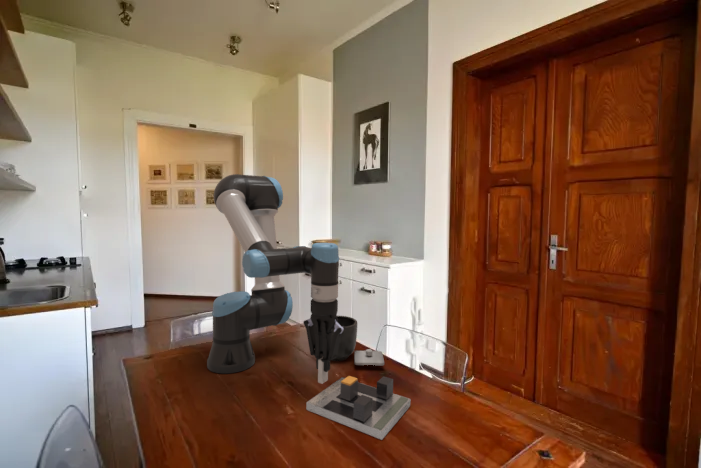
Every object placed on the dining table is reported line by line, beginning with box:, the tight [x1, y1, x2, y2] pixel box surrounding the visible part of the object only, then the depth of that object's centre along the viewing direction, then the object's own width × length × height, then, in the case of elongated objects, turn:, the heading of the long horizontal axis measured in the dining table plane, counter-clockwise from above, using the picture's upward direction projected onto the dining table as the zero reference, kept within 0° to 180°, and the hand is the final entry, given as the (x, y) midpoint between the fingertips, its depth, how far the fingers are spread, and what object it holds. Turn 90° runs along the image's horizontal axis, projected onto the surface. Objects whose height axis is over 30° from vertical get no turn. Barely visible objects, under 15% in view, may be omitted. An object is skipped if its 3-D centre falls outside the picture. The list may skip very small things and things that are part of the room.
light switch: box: [353, 348, 385, 367], centre depth 121 cm, size 10×10×5 cm
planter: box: [330, 315, 358, 362], centre depth 127 cm, size 14×14×13 cm
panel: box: [305, 376, 412, 441], centre depth 94 cm, size 22×17×6 cm
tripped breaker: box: [340, 375, 359, 401], centre depth 96 cm, size 3×4×4 cm
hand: (322, 381), depth 100 cm, fingers closed
